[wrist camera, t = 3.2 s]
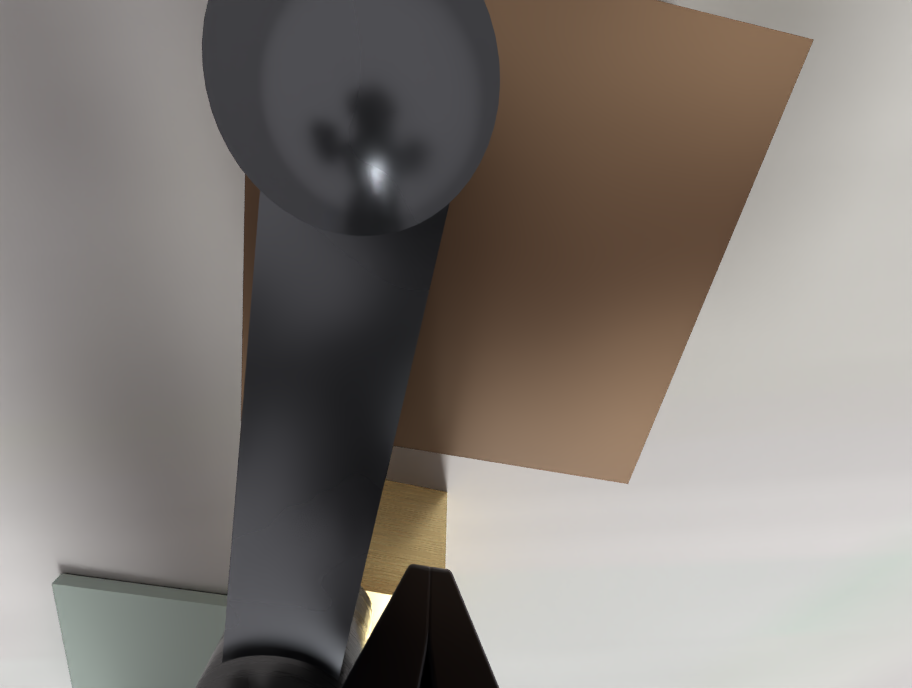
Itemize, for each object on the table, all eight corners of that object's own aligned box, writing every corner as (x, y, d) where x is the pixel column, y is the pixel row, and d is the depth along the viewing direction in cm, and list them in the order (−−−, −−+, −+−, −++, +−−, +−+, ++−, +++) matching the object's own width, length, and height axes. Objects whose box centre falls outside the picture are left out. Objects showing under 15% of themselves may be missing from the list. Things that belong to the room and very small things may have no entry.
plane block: (567, 378, 12) (627, 484, 8) (319, 333, 12) (241, 421, 7) (655, 101, 10) (813, 39, 5) (345, 30, 9) (249, -102, 5)
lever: (361, 662, 9) (331, 819, 7) (238, 642, 9) (165, 799, 7) (517, 56, 5) (566, -40, 3) (303, -9, 5) (175, -169, 3)
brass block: (408, 616, 16) (394, 752, 12) (286, 595, 15) (232, 729, 12) (446, 488, 14) (444, 604, 10) (306, 460, 13) (248, 569, 9)
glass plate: (260, 734, 18) (256, 745, 18) (88, 714, 17) (79, 726, 17) (267, 600, 15) (262, 611, 15) (61, 573, 15) (51, 583, 14)
